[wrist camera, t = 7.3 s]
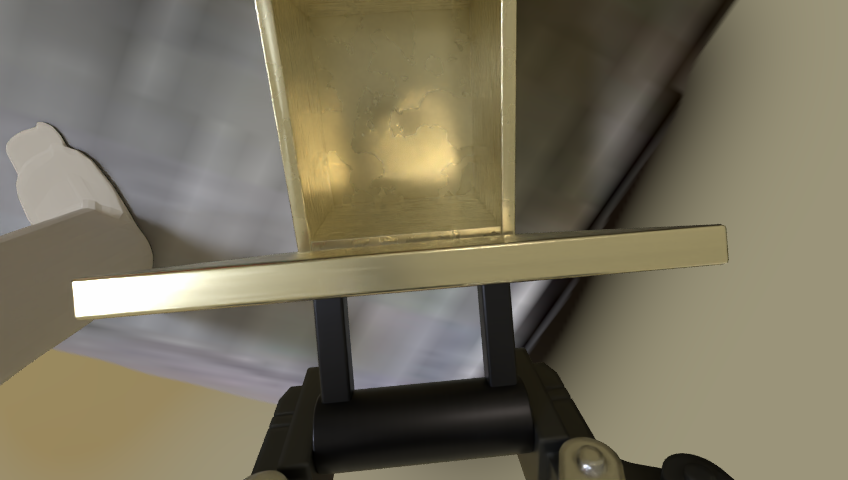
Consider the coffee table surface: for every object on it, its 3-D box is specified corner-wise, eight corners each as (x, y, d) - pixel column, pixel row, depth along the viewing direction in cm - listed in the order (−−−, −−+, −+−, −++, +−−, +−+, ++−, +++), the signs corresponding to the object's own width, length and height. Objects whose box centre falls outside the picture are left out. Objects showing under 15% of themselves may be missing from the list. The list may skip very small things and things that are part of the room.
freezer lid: (69, 278, 7) (93, 557, 8) (727, 223, 8) (748, 485, 8) (296, 251, 23) (304, 343, 23) (516, 233, 23) (524, 323, 23)
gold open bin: (296, 7, 28) (246, -41, 19) (477, -4, 28) (517, -55, 19) (326, 212, 33) (298, 256, 23) (481, 200, 33) (515, 238, 24)
